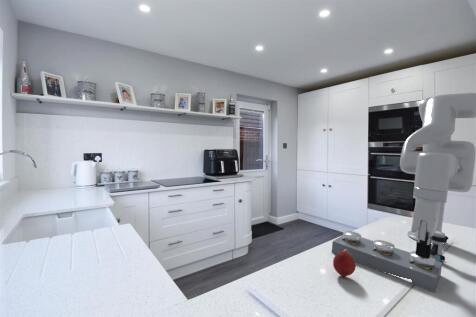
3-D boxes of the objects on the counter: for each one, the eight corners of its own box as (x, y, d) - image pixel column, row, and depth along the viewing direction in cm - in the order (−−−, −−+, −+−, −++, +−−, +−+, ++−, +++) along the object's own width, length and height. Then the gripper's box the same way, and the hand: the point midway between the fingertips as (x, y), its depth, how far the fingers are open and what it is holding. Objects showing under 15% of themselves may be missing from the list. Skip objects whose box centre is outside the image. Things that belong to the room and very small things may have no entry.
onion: (344, 284, 62) (347, 256, 62) (327, 273, 68) (329, 247, 67) (358, 279, 65) (361, 252, 65) (341, 269, 70) (343, 243, 70)
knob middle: (375, 255, 80) (376, 238, 79) (394, 262, 76) (396, 244, 75) (369, 260, 76) (371, 242, 75) (390, 268, 72) (392, 249, 71)
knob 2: (410, 267, 73) (412, 249, 72) (434, 276, 68) (436, 256, 68) (406, 274, 69) (408, 254, 68) (431, 283, 64) (433, 263, 64)
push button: (453, 267, 75) (456, 237, 75) (436, 266, 76) (439, 236, 75) (436, 257, 82) (440, 230, 81) (421, 256, 82) (424, 229, 82)
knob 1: (345, 245, 87) (347, 229, 87) (362, 250, 83) (363, 234, 82) (339, 249, 83) (340, 233, 83) (356, 255, 79) (357, 238, 79)
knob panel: (346, 242, 90) (347, 232, 90) (440, 275, 70) (442, 262, 70) (331, 252, 81) (332, 241, 81) (434, 292, 61) (436, 278, 61)
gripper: (418, 190, 75) (412, 245, 76) (408, 195, 64) (401, 258, 66) (449, 194, 69) (442, 253, 70) (443, 201, 59) (435, 270, 60)
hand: (422, 255), depth 68 cm, fingers closed
